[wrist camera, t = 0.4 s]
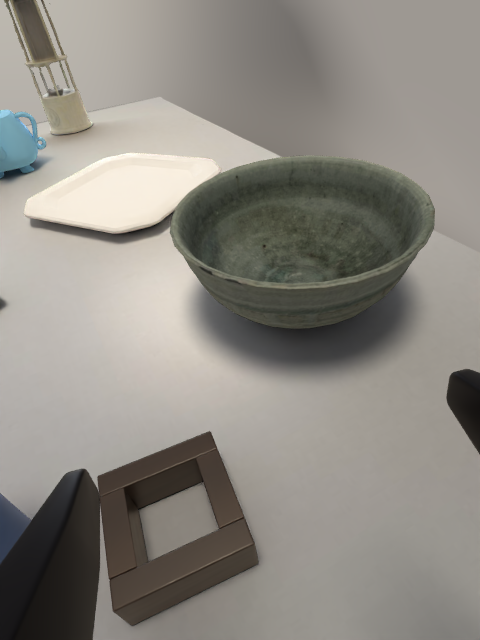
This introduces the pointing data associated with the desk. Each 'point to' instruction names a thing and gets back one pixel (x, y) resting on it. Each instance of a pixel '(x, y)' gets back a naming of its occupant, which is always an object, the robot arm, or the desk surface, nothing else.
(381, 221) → the bowl
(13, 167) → the teapot
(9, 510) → the blue tall cylinder
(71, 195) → the plate
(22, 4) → the lamp
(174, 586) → the frame
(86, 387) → the desk surface
